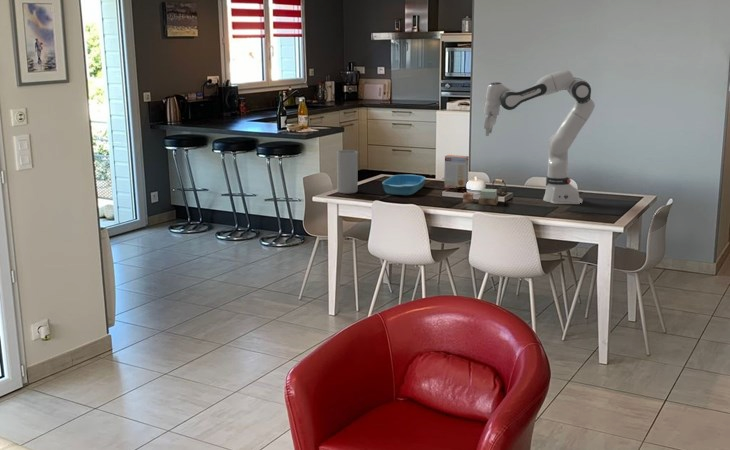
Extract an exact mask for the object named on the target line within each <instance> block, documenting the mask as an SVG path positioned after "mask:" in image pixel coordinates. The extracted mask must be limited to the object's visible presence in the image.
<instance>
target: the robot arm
mask: <svg viewBox="0 0 730 450" xmlns="http://www.w3.org/2000/svg"><path fill="white" fill-rule="evenodd" d="M561 91H567V92H568V94H570V96H571V97H572V98H573V99H574V100H575V101H574V105H573V106H572V107H571V109H570V110H569V111H568V113H567V115H566V116H565V117H564V119H563V121H561V124H560V126H559V127H558V129H556V132H555V133H553V134H552V135H551V136H550V138H549V140H548V153H547V155H548V156H547V174H546V178H545V186H546V187H545V191H544V192H545V193H544V195H543V198H542V200H543V202H547V203H551V204H557V205H558V204H559V205H581V204H583V200H584V199H582V198H581V197H580V193H579V191H578V189H577V188H576V187H574V186H573V185H572V184H571V178H570V177H568V157H569V156H568V155H569V153H568V152H569V149H570V147H571V146H572V144H573V143H574V141H575V139H576V138H577V136H578V135H579V133H580V132H581V130H582V129H583V127H584V126H585V124H586V123H587V121H588V120H589V119H590V117H591V115H592V113H593V111H594V109H595V106H596V105H595V104H596V103H595V102H594V101H593V99H591V94H592V88H591V85H590V83H589V82H588V81H586V80H584V79H582V78H579V77H574V75H573V73H572V72H571V71H570V70H568V69H565V70H564V69H563V70H558V71H553V72H551V73H548V74H546V75H544V76H542V77H540V78H538V80H537V82H536V83H534V85H532V86H531V87H530V86H529V87H527V88H525V89H521V90H520V91H514V90H513V89H511V88H508V87H507V86H505V85H504V84H503V83H502V82H491V83H489V84H488V85H487V88H486V93H485V102H484V107H483V114H485V115H484V116H485V117H484V124H483V129H485V136H486V137H488V136H490V134H492V130H493V128H494V125H495V124H496V122H497V118H498V116H499V115H500V109H501V107H502V108H503V109H505V110H508V111H512V110H515V109H516V108H517V107H518V106H520V105H521V104H522V103H524V102H527V101H530V100H532V99H536V98H537V97H538V98H539V97H542V96H543V97H544V96H547V95H548V96H549V95H551V94H555V93H559V92H561ZM580 203H581V204H580Z"/></svg>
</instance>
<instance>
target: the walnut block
mask: <svg viewBox="0 0 730 450" xmlns="http://www.w3.org/2000/svg"><path fill="white" fill-rule="evenodd" d="M498 202H499V195H497V196H496V198H495V199H488V198H481V195H479V197H478V205H485V206H486V205H487V206H497V205H498V204H499V203H498Z"/></svg>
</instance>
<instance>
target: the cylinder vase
mask: <svg viewBox="0 0 730 450" xmlns="http://www.w3.org/2000/svg"><path fill="white" fill-rule="evenodd" d="M358 154H359V153H358V151H357V150H353V149H344V150H343V149H340V150H338V151H336V172H337V173H336V176H337V177H336V178H337V179H336V180H337V181H336V184H337V185H336V190H337V193H340V194H345V195H346V194H348V195H349V194H355V193H357V192H358V187H359V186H358V183H359V182H358V170H359V168H358V156H359V155H358Z"/></svg>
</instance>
